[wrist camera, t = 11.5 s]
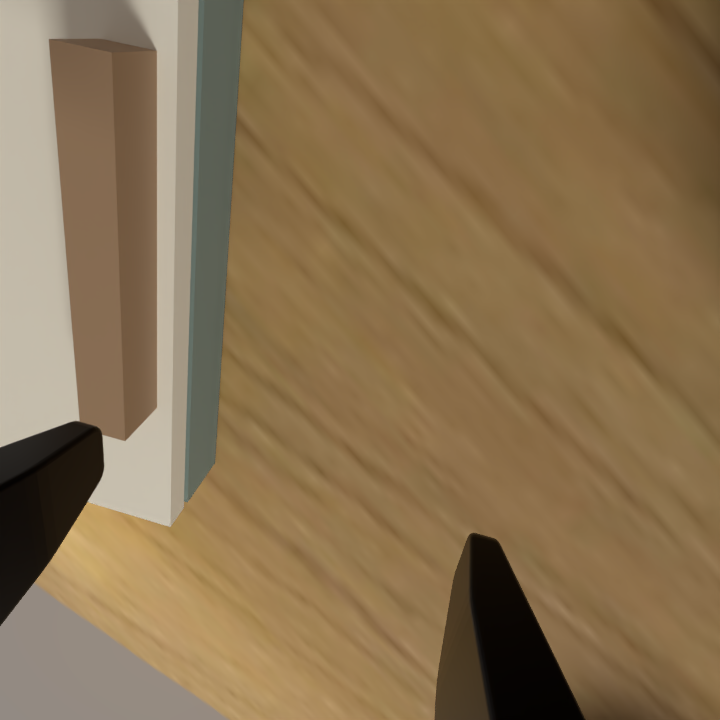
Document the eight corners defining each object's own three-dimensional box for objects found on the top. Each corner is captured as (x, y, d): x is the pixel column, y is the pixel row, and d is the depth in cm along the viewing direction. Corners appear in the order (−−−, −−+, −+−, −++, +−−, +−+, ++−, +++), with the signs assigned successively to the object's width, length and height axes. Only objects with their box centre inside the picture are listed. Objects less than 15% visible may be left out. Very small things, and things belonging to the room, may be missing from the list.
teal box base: (254, -182, 14) (211, -218, 12) (214, 462, 24) (187, 502, 22) (-218, -260, 16) (-327, -305, 14) (-71, 380, 26) (-123, 410, 24)
